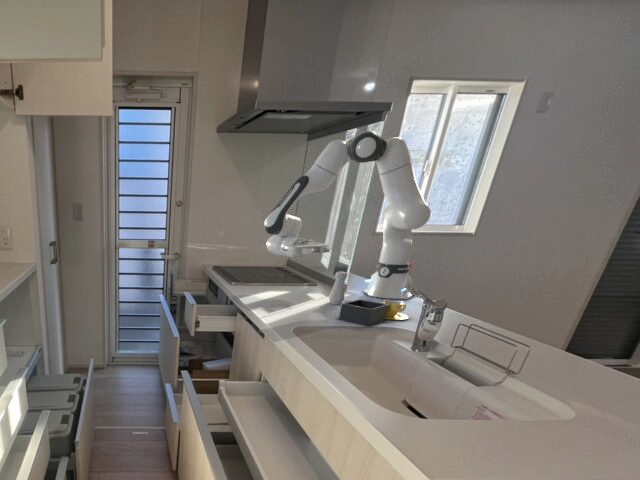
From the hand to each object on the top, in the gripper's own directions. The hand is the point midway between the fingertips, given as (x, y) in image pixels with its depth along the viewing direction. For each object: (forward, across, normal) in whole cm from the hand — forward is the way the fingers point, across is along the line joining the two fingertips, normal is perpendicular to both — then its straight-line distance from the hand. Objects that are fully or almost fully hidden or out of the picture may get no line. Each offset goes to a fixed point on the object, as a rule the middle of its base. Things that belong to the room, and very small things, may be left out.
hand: (320, 251), depth 174 cm
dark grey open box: (+34, -12, +20) cm, 41 cm away
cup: (+36, 0, +20) cm, 41 cm away
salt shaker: (+12, 0, +20) cm, 24 cm away
